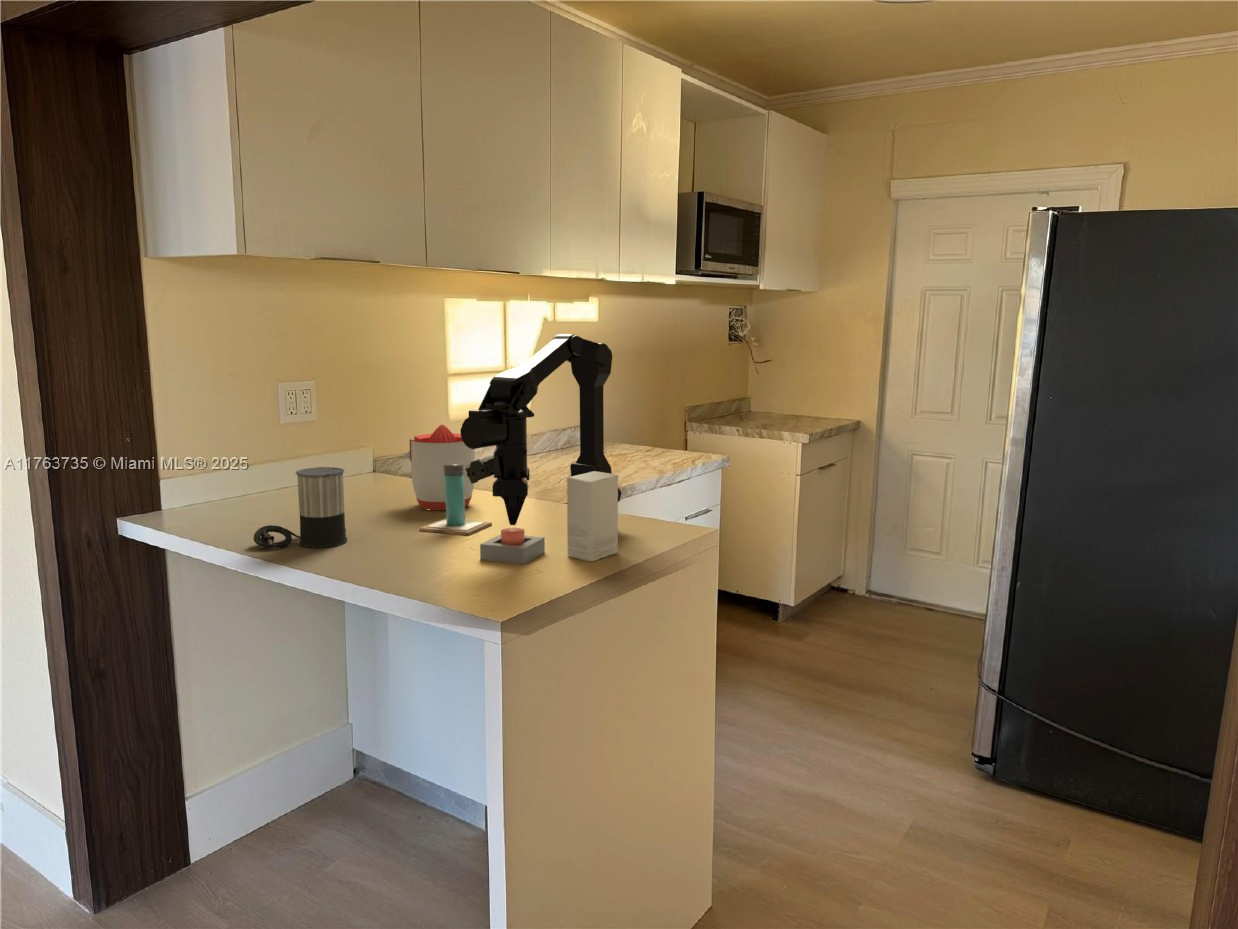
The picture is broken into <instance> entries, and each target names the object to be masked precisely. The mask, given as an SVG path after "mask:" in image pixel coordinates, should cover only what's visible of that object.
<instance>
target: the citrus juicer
mask: <svg viewBox="0 0 1238 929" xmlns="http://www.w3.org/2000/svg"><path fill="white" fill-rule="evenodd" d="M413 436H414V439H409V451H407V452H406V453H404V454H403V455H402V460H408V459H409V461H410V468H411V469H410V475H411V482H412V487H413V491H414V495H415V497H416V498H415V499H416V501H417V503H418V505H419V507H420V508H421V509H424V510H425V509H430V510H429V511H446V499H445V477H444V464H450V463H462V464H463V465H464V474H463V476H464V501H465V508H466V507H468V506H469V505H470V502H471V500H472V497H473V492H474V487H475V483H473V484H471V482H470V480H469V477H468V476H467V472H466V470H465V467H466V466H467V465H468V464H470V463H471V461H475V460H476V452H475V451H476V449H471V448H468V447H467V446H466V445H465V444H464V442H463V440H462V438H461V433H453V432H452V431H451V430H450V429H449V428H448V427H447V426H446V425H445V424H440V425H439V426H438V427H436V429H435V430H434V431H433V432H432V433H426V434H419V435H413Z"/></svg>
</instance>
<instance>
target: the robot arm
mask: <svg viewBox="0 0 1238 929" xmlns="http://www.w3.org/2000/svg"><path fill="white" fill-rule="evenodd" d="M565 362H567V363H570V369H571V374H572V376H573V377H574V379H575V381H576V383H577V385H578V388H579V389H578V390H579V456H578V458H576V461H575V462H572V463H571V464H570V466H569V468H570V477H571V476H576V475H580V474H585V473H589V472H593V471H597V472H603V473H610V474H613V473H612V471H613V470H612V467H611V464H610V462H609V461H608V459H607V458H606V455H605V450H604V448H605V445H604V444H605V442H604V441H605V439H604V437H605V436H604V435H605V434H604V430H605V429H604V424H605V423H604V385H605V384H606V383H607V380H608V379H609V377H610V375H611V373H612V366H613V352H612V350H611V349H610V348H609V346H608V344H606V343H604V342H595V341H592V340H589V339H584V338H582V337H580V336H579V335H576V334H571V333H570V334H569V333H565V334H564V333H559V334H556V335H555V336H553V338H552V340H551V341H549V342H548V344H546V345H545V346H543V347H542V348H541V349H540V350H538V351H537V352H536V353H535V354H534V355H532V356H531V357H529V359H527V360H526V361H524V362H523V363H522V364H521V365H519V366H517V367H515V368H510V369H506V370H505V371H503V372H500V373H498V374H496V375H495V376H493V377H492V379H491V380H490V382H489V387H488V388H487V390H486V392H485V394H484V396H483V399H482V401H481V403H480V405H479V407H478V408H477V410H476V409H469V410H468V416H467V418H465V419H464V420H463V422H462V424H461V427H460V431H459V432H460V433H459V434H461V438H462V440H463V442H464V444H465V445H466V446H467V447H468V448H471V449H475V450H476V449H484V448H487V447H494V446H495V448H494V450H493V455H490V456H488V457H484V458H482V459H479V458H476V459H475V461H471V463H470V464H468V465H467V466H466V467H465V470H466V472H467V476H468V477H469V480H470V482H471V484H473V483H474V484H477V483H478V482H479V481H481V480H484V479H486V478H490V477H492V476H493V478H494V479H495V481H493V484H492V497H495V498H496V497H497V498H498V497H500V499H502V500H503V502H504V506H505V510H506V514H507V519H508V522H509V526H516V525H517V522H518V519H519V518H520V514H521V512H522V510H523V507H524V503H525V502H526V498H527V496H529V495H528V494H529V487H530V486H529V481H530V480H531V479H530V478H531V477H530V468H529V467H528V442H527V441H528V432H527V431H528V430H527V427H528V426H527V424H528V423H527V419H528V418H533V417H535V413H534V412H533V411H532V410H531V409H530V408H529V407H528V405H529V404H530V403H531V401H532V400H533V399H534V398H535V396H536V395H537V394H538V390H539V385H540V384H541V383H542V382H543V381H544V380H545V379H546V378H548V377H549V376H550V375H551V374H552V373H553V372H555V371H556V370H558V369H559V368H560V367H561V366H562V365H563V364H564V363H565ZM621 497H622V490H621V489H620V488H619V487H618V503H619V502H620V501H621Z"/></svg>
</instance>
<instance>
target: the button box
mask: <svg viewBox="0 0 1238 929" xmlns="http://www.w3.org/2000/svg"><path fill="white" fill-rule="evenodd" d="M524 541H525V543H523V544H521V545H520V546H519V545H509V544H501V533H500V534H498V535H496V536H495V537H493V538H490V539H488V540H486V541H484V542H482V543H479V551H480V552H479V555H480V556H479V557H480V561H488V562H499V563H507V564H517V565H526V564H527V563H529V562H531V561H532V560H534V559H536V558H538V557H539V556H541V555H543V554H545V550H546V548H545V542H546V541H545V537H543V536H533V535H525V534H524Z"/></svg>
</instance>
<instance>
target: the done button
mask: <svg viewBox="0 0 1238 929" xmlns="http://www.w3.org/2000/svg"><path fill="white" fill-rule="evenodd" d="M500 534H501V544H509V545H519V546H520V545H521V544H523V543H525V541H524V535H525V529H524V528H520V527H507V528H503V529H501V530H500Z"/></svg>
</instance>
